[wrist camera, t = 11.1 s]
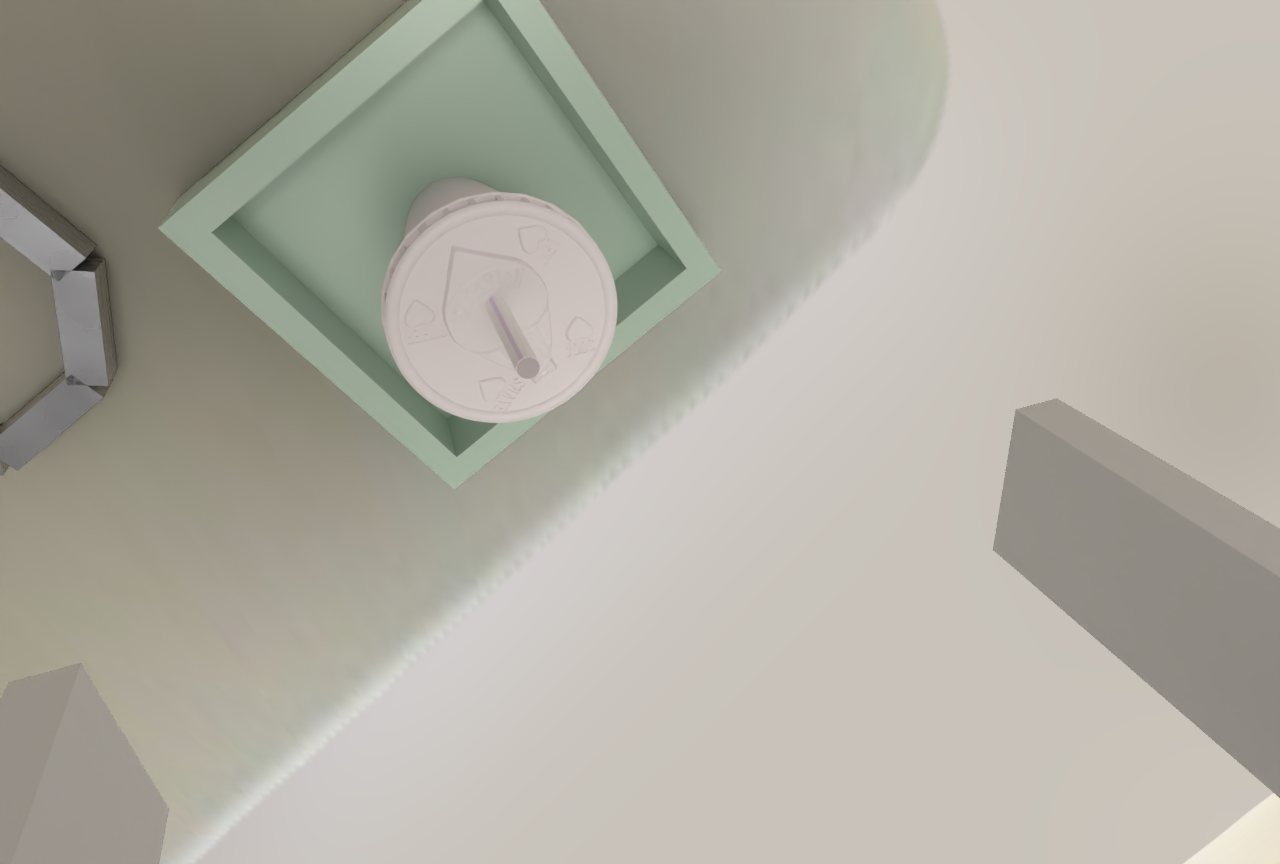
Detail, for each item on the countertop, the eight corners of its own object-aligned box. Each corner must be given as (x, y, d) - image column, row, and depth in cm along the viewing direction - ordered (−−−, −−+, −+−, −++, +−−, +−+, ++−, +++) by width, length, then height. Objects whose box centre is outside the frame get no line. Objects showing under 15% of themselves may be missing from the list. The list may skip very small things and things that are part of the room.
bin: (178, 197, 28) (157, 228, 25) (476, -59, 27) (496, -64, 24) (442, 441, 35) (454, 489, 32) (683, 242, 34) (721, 271, 31)
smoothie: (481, 99, 29) (587, 185, 17) (576, 250, 32) (718, 406, 21) (326, 204, 29) (327, 361, 17) (439, 344, 32) (503, 553, 21)
